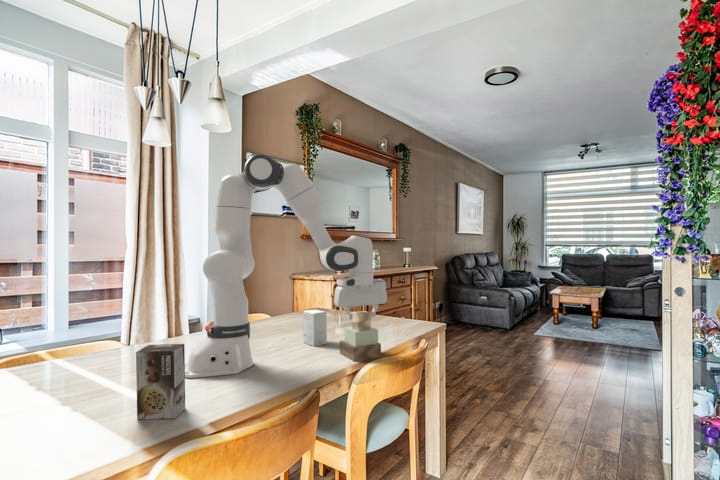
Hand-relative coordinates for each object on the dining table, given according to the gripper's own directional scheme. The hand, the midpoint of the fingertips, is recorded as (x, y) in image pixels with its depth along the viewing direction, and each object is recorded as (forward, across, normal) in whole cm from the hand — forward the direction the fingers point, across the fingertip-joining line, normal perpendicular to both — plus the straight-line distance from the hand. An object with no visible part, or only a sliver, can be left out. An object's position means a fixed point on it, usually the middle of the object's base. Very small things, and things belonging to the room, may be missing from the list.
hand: (361, 317), depth 142 cm
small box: (+14, +9, -24) cm, 29 cm away
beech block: (+4, 0, 0) cm, 4 cm away
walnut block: (+14, 0, 0) cm, 14 cm away
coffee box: (+14, +65, +20) cm, 69 cm away
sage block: (+9, 0, 0) cm, 9 cm away
